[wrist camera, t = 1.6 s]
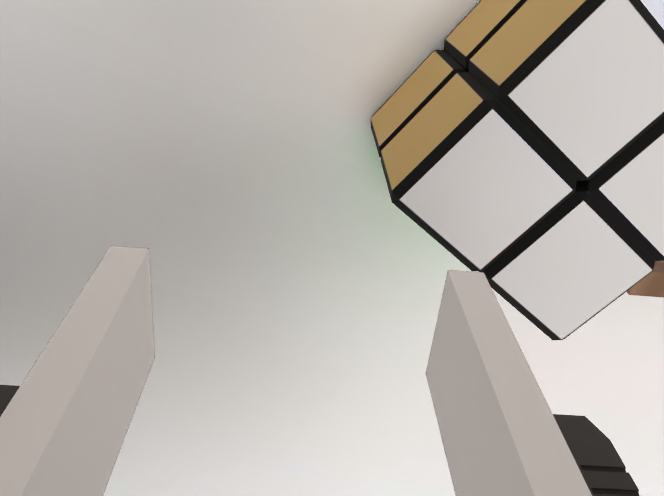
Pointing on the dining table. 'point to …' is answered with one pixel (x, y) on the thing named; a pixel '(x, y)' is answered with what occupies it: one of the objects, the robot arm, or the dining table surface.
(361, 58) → the dining table surface
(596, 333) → the dining table surface
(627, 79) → the puzzle cube
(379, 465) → the dining table surface
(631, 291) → the frame
